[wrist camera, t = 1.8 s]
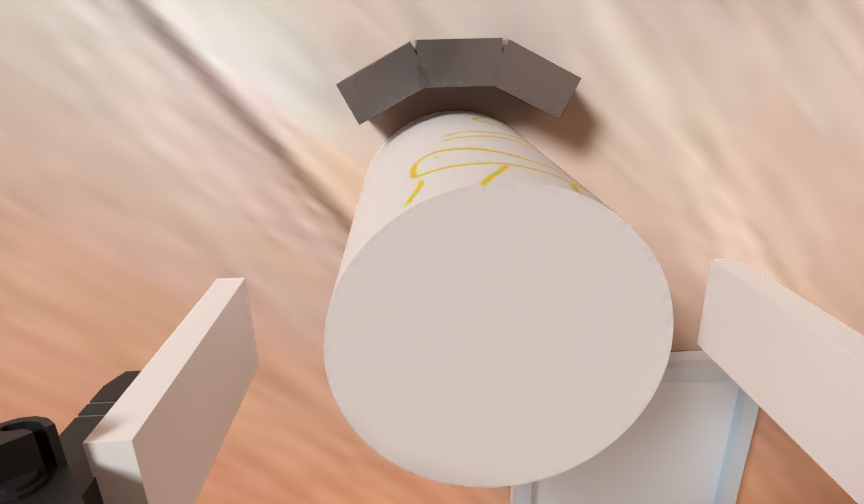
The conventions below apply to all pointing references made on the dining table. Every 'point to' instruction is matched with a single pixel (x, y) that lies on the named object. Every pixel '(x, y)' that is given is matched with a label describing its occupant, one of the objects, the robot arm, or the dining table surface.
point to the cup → (490, 310)
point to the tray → (666, 446)
